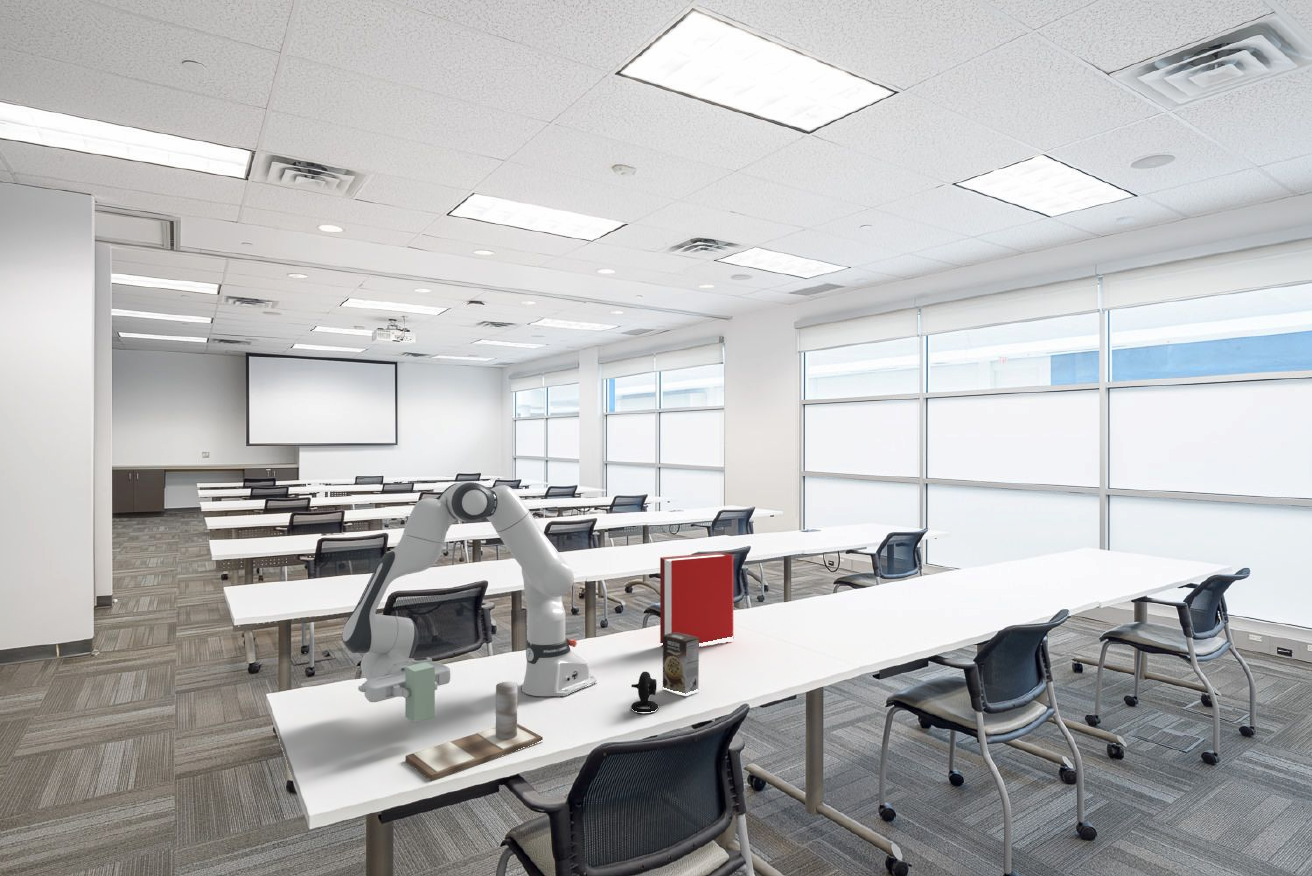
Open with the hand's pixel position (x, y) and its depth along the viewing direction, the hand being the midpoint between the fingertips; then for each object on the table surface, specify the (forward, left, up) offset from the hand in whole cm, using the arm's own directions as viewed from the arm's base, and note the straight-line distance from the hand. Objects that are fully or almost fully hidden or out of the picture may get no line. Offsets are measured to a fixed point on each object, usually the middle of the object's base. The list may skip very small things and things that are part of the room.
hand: (421, 690), depth 160 cm
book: (-111, -13, -13) cm, 112 cm away
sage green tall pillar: (0, -1, -7) cm, 7 cm away
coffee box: (-71, +17, -13) cm, 74 cm away
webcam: (-54, +20, -13) cm, 59 cm away
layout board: (-8, +12, -13) cm, 19 cm away
